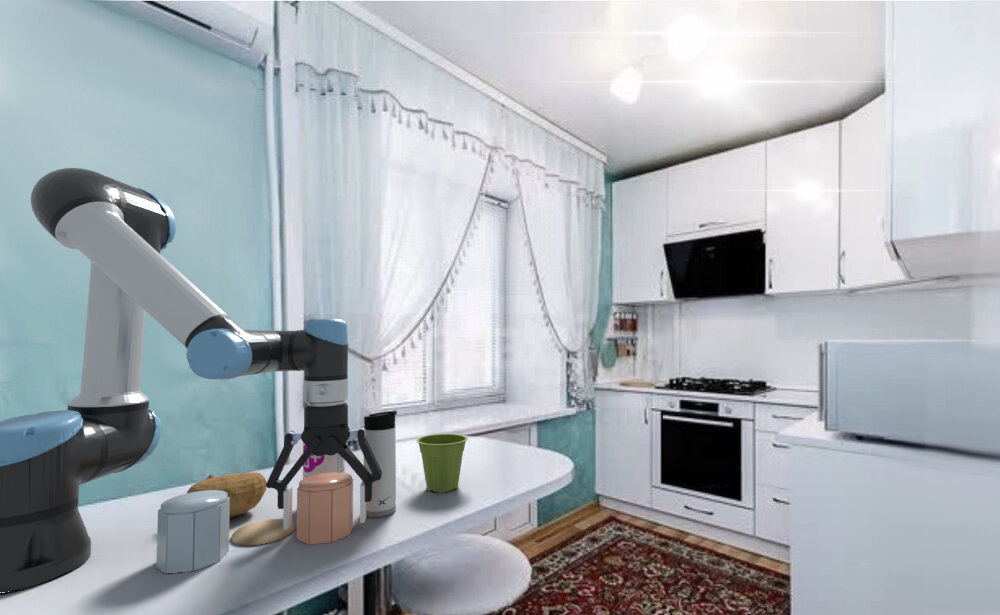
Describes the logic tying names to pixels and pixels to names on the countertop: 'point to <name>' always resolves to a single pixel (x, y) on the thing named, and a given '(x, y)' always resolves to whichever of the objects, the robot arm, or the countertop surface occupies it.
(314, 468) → the supplement can
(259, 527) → the coaster
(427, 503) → the countertop surface
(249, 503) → the potato
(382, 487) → the travel mug
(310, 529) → the peach domed octagonal part
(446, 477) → the plant pot
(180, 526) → the grey domed faceted canister
